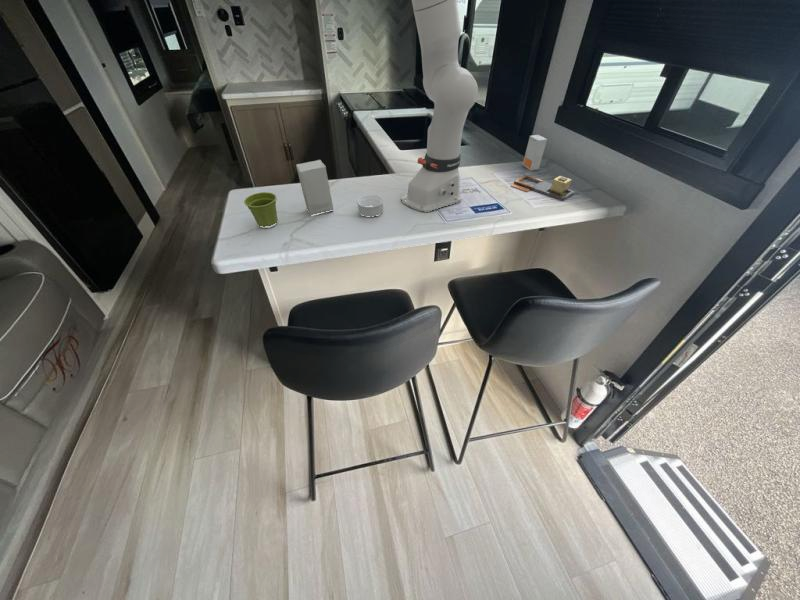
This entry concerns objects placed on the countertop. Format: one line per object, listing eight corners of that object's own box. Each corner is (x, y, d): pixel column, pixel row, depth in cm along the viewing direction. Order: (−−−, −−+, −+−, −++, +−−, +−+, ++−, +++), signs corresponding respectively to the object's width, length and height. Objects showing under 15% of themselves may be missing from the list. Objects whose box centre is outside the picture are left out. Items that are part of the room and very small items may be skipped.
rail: (559, 203, 112) (560, 200, 112) (509, 185, 123) (510, 182, 122) (573, 194, 118) (574, 190, 117) (524, 177, 129) (525, 174, 128)
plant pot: (288, 224, 104) (281, 199, 98) (261, 235, 99) (252, 209, 93) (274, 214, 109) (267, 189, 103) (248, 224, 104) (238, 198, 98)
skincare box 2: (522, 165, 138) (529, 135, 129) (530, 164, 139) (538, 134, 130) (530, 170, 133) (538, 140, 125) (539, 169, 134) (547, 139, 126)
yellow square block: (560, 198, 116) (566, 182, 112) (548, 194, 118) (553, 178, 114) (566, 194, 118) (572, 178, 114) (554, 190, 120) (560, 174, 116)
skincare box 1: (329, 204, 114) (321, 158, 103) (334, 212, 110) (327, 166, 99) (305, 209, 111) (295, 163, 101) (310, 217, 107) (299, 170, 96)
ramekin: (355, 209, 111) (353, 197, 108) (379, 204, 114) (378, 192, 111) (362, 221, 105) (361, 209, 102) (387, 216, 108) (387, 204, 105)
